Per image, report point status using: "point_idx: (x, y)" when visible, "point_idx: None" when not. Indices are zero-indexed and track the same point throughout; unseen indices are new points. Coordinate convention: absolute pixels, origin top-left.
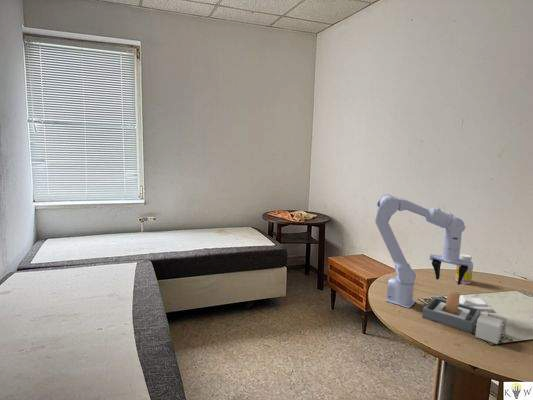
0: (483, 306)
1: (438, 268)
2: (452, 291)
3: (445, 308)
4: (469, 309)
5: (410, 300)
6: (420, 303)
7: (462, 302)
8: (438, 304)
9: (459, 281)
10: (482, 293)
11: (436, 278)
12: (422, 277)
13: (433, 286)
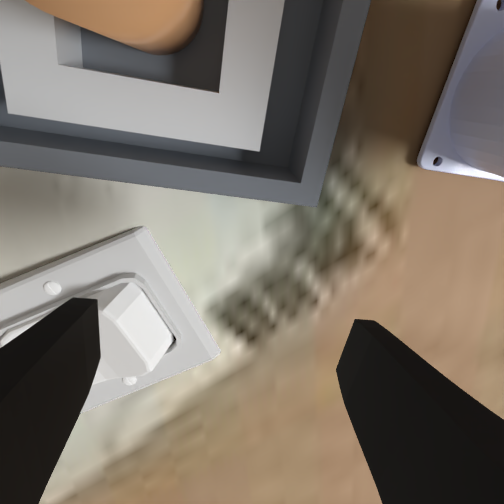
0: (14, 320)
1: (463, 499)
2: (111, 8)
3: (213, 91)
4: (27, 141)
5: (497, 58)
6: (382, 162)
7: (132, 297)
8: (270, 168)
9: (44, 324)
10: (91, 473)
11: (379, 325)
12: (357, 484)
13: (308, 429)
